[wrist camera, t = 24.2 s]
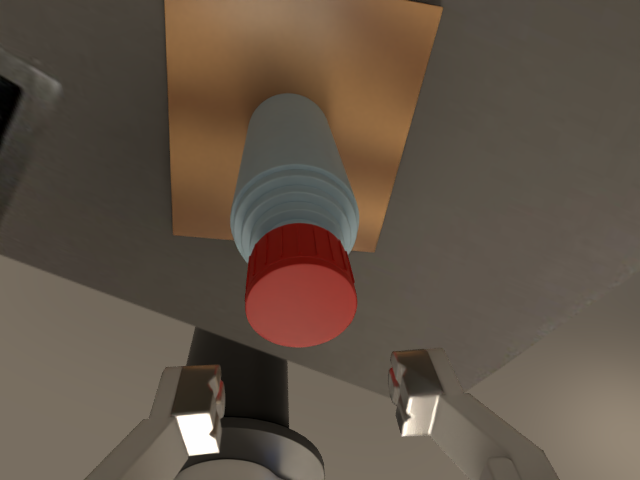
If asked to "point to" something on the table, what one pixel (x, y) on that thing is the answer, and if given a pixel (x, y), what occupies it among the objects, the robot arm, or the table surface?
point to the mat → (296, 78)
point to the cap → (299, 286)
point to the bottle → (291, 175)
